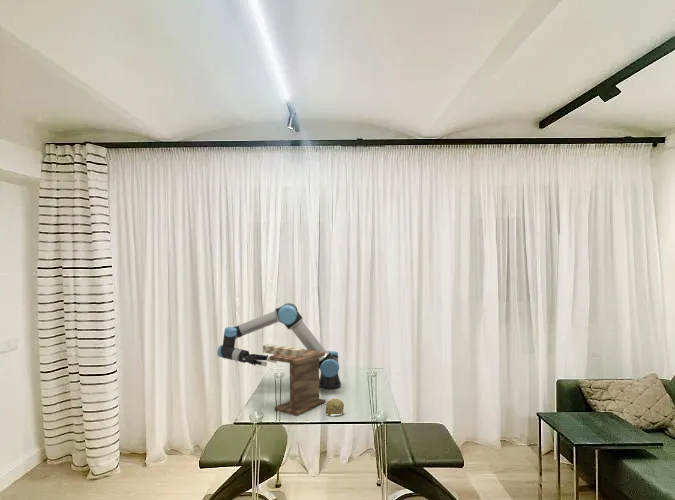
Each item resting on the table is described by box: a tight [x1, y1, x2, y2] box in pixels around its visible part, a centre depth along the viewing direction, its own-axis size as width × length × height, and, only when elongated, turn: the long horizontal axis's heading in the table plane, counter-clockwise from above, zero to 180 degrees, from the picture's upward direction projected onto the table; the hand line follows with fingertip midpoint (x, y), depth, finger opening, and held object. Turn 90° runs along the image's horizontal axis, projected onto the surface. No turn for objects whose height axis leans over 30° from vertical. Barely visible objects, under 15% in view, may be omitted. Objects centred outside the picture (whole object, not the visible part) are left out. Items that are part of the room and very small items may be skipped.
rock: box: [325, 398, 345, 416], centre depth 260 cm, size 10×11×10 cm
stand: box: [269, 348, 326, 417], centre depth 273 cm, size 20×26×30 cm
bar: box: [262, 344, 304, 358], centre depth 271 cm, size 26×4×4 cm, turn 56°
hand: (271, 362), depth 288 cm, fingers open, 13 cm apart
